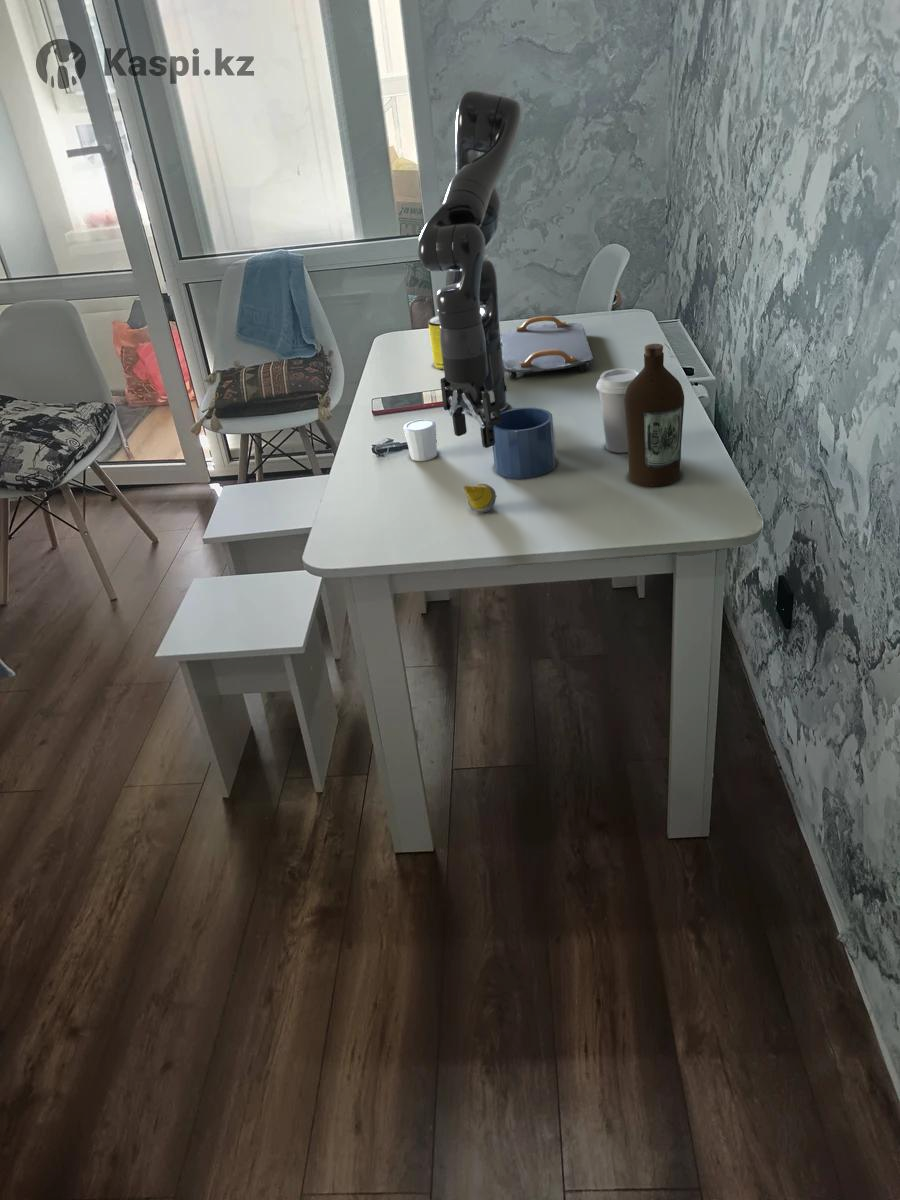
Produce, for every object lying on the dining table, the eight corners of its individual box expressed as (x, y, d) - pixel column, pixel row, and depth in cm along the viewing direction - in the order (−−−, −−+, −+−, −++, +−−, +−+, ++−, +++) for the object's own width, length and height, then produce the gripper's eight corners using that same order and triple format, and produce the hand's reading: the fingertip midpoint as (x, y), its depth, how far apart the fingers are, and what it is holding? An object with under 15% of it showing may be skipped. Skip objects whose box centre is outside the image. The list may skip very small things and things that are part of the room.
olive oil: (617, 471, 176) (613, 344, 163) (668, 460, 178) (669, 333, 164) (639, 493, 167) (637, 360, 154) (693, 481, 169) (695, 348, 155)
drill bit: (505, 510, 169) (480, 493, 161) (481, 521, 171) (454, 505, 163) (499, 485, 171) (473, 467, 163) (475, 497, 173) (448, 480, 165)
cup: (483, 467, 186) (477, 421, 180) (529, 448, 191) (526, 402, 186) (519, 484, 177) (515, 436, 171) (568, 464, 182) (565, 416, 177)
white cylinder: (416, 465, 191) (411, 433, 187) (402, 455, 196) (397, 424, 192) (445, 455, 193) (441, 424, 189) (431, 446, 198) (426, 415, 195)
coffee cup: (649, 437, 188) (648, 366, 180) (642, 456, 181) (641, 383, 173) (603, 436, 191) (600, 367, 183) (594, 455, 184) (591, 383, 176)
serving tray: (596, 374, 224) (595, 349, 220) (502, 385, 226) (500, 360, 223) (582, 330, 256) (581, 307, 253) (500, 339, 259) (498, 317, 255)
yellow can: (473, 359, 246) (468, 314, 240) (455, 370, 240) (450, 324, 234) (445, 357, 251) (439, 313, 245) (427, 367, 245) (421, 323, 239)
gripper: (507, 351, 149) (515, 443, 158) (458, 337, 160) (468, 424, 168) (470, 364, 146) (481, 457, 154) (422, 348, 156) (435, 437, 165)
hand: (474, 440), depth 161 cm, fingers open, 8 cm apart
